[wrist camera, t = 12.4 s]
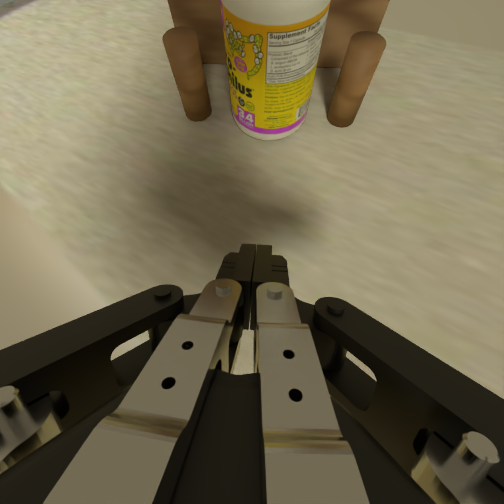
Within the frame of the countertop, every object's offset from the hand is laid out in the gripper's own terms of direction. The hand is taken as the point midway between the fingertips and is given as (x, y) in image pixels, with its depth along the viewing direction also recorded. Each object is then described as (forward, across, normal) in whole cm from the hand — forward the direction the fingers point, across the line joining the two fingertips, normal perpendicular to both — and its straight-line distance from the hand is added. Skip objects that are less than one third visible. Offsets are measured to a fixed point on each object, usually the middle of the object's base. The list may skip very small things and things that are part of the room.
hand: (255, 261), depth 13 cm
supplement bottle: (+15, 0, -7) cm, 17 cm away
